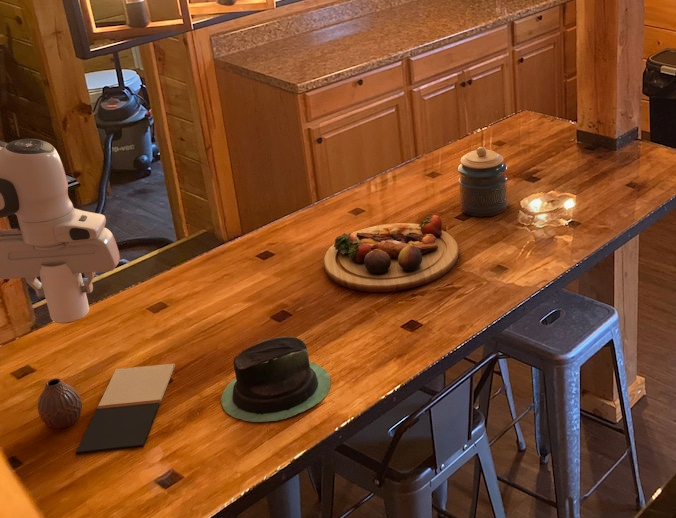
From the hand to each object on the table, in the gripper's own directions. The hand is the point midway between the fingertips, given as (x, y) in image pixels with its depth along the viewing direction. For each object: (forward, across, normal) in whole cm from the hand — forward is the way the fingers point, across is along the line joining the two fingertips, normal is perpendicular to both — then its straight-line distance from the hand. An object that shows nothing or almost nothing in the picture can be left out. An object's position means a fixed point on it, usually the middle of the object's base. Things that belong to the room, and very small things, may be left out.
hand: (65, 293), depth 176 cm
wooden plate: (+20, +57, +40) cm, 73 cm away
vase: (+20, -1, -12) cm, 24 cm away
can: (+5, 0, 0) cm, 5 cm away
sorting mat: (+20, +10, -9) cm, 24 cm away
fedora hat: (+20, +36, -9) cm, 42 cm away
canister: (+20, +82, +66) cm, 107 cm away
